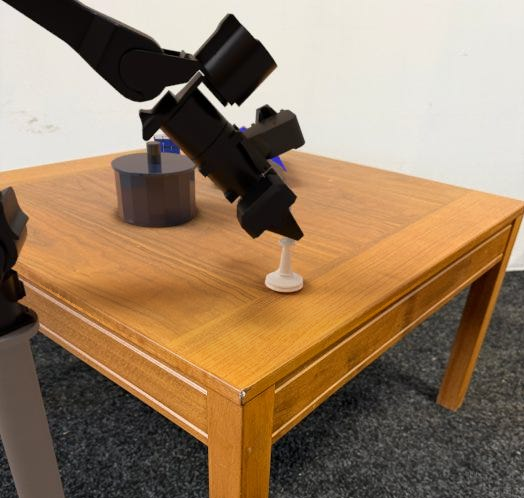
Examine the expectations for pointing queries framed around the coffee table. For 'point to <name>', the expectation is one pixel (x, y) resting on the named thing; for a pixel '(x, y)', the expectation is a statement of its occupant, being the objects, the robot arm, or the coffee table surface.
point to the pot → (156, 199)
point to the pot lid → (153, 163)
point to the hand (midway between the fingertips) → (298, 234)
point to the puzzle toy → (166, 144)
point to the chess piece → (285, 270)
